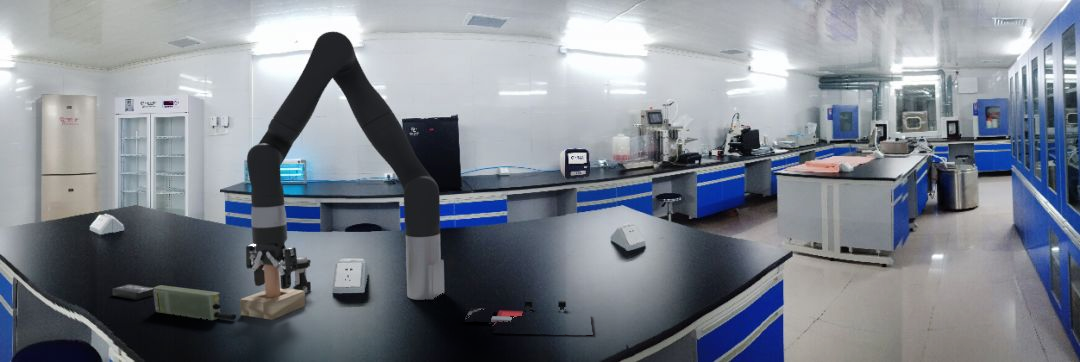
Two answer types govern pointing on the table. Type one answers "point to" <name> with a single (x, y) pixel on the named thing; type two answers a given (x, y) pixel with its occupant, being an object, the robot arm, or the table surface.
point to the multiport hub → (133, 292)
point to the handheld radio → (188, 303)
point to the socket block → (272, 304)
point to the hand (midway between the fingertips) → (272, 286)
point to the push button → (302, 275)
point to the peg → (271, 281)
